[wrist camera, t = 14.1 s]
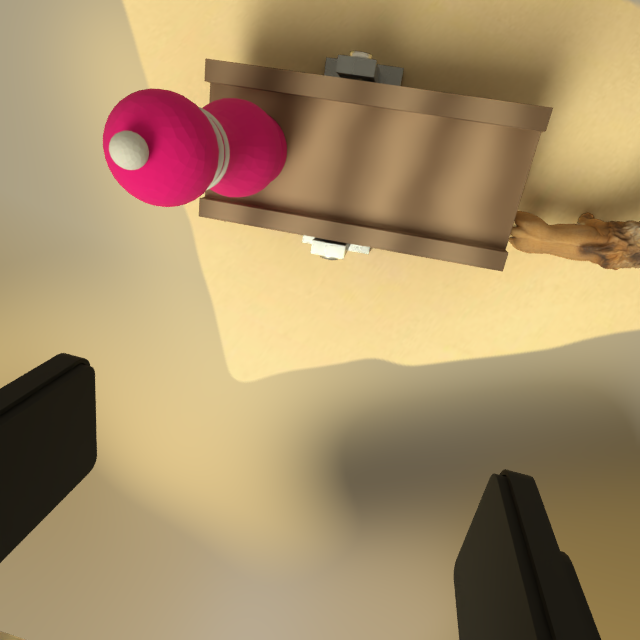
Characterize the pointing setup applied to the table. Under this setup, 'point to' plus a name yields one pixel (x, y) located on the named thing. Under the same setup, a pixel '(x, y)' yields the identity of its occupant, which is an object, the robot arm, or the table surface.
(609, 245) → the lion figurine
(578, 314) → the table surface
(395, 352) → the table surface
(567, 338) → the table surface
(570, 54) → the table surface
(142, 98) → the pepper mill
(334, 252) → the beam stand
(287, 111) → the balance beam
